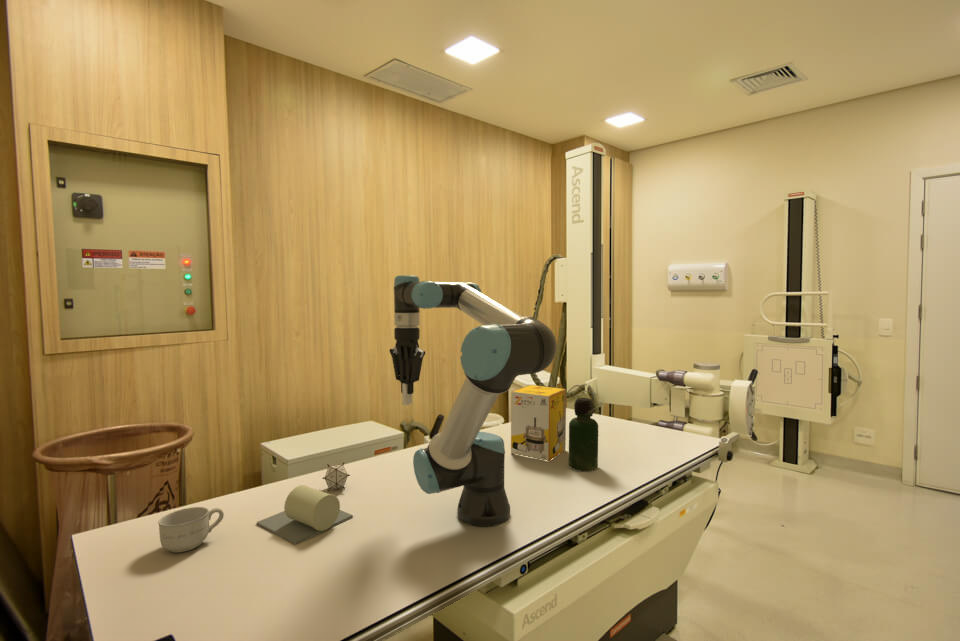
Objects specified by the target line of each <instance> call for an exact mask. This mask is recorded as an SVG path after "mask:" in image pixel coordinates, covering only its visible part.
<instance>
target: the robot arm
mask: <svg viewBox="0 0 960 641" xmlns="http://www.w3.org/2000/svg"><path fill="white" fill-rule="evenodd" d="M393 284H394V285H393V297H394V298H393V301H394V303H393V304H394V305H393V307H394V309H393V310H394V312H393V313H394V314H393V315H394V316H393V317H394V318H393V319H394V320H393V322H394V324H393V325H394V326H395V328H394V329H393V330H394V340H395V346H394V347H393V348H390V349H389V353H390V355H391V359H392V364H393V370H394V377H395V380H396V381H399V382H400V389H401V390H400V392H401V394H402V405H404V406H409V405H412V404H413V394H414V392H415V391H414V390H415V389H414V388H415V387H414V383H416V382H419V381H420V376H421V371H422V365H423V359H424V357H425V355H426V351H425V350H422V349H421V348H420V345H419V340H420V335H421V334H420V331H421V330H420V328H419V326H420V309H424V310H425V309H438V308H439V309H443V308H444V309H445V308H446V309H448V308H449V309H453V308H455V309H458V310H459V311H462V312H463V313H464V314H466V315H467V316H469V317H470V318H472V319H473V320H474V321H476V322H478V323H479V324H480V325H479V326H475V327H474V328H472V329H471V330H469V332H468V333H467V334H466V336H465V337H464V339H463V341H462V343H461V347H460V352H461V355H460V356H459V357H460V363H461V364H460V365H461V367H462V370H463V373H464V376H465V379H464V381H463V384H462V386H461V388H460V390H459V392H458V395H457V397H456V399H455V401H454V403H453V405H452V407H451V410H450V411H449V414H448V416H447V418H446V420H445V422H444V424H443V426H442V428H441V431H440V432H438V433H436V434H435V435H433V436H432V438H431V439H430V441H429V443H428V445H427V446H426V447H425V448H420V449H417V450H416V451H415V452H414V454H413V459H412V460H413V461H412V463H413V465H412V466H413V470H414V471H413V473H414V476H415V479H416V481H417V484H418V485H419V486H418V487H419V488H420V489H421V490H422V492H424V493H425V494H427V495H431V494H432V495H433V494H439V493H442V492H445V491H448V490H452V489H456V488H460V487H463V488H462V492H461V494H460V498H459V500H458V504H457V509H456V511H457V514H456V516H457V518H459V520H460V521H461V522H463V523H465V524H468V525H470V526H475V527H494V526H498V525H501V524H504V523H505V522H507V521H508V520H509V519H508V518H510V517H511V504H510V503H509V498H508V496H507V492H506V488H505V457H506V456H505V455H506V450H505V441H504V439H503V438H502V437H501V436H499V435H498V434H495V433H492V432H488V431H487V432H485V431H481V429H482V427H483V425H484V423H485V421H486V419H487V418H488V416H489V414H490V412H491V410H492V408H493V407H494V404H495V402H496V401H497V399H498V397H499V395H501V394H504V393H507V392H508V391H509V390H510V388H511V387H512V384H513V383H514V381H515V379H516V378H517V377H518V376H524V375H533V374H538V373H540V372H543V371H544V370H546V369H547V368H548V367H549V366H550V365H551V364H552V363H553V361H554V360H555V357H556V354H557V350H558V349H557V348H558V344H557V339H556V336H555V334H554V332H553V330H551V328H550V327H549V326H548V325H547V324H545V323H543V322H542V321H540V320H538V319H537V318H535V317H533V316H523V315H521V314H520V313H518V312H516V311H515V310H512V309H511V308H509V307H507V306H505V305H504V304H502V303H500V302H498V301H497V300H495V299H493V298H491V297H490V296H488V295H486V294H484V293H482V290H481V288H480V286H479V285H478V284H477V283H475V282H469V281H461V282H460V281H456V282H455V281H431V280H422V281H420V278H419V276H417V275H407V274H406V275H403V274H402V275H396V276H395V277H394V282H393ZM503 522H504V523H503Z"/></svg>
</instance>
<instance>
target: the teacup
mask: <svg viewBox="0 0 960 641" xmlns="http://www.w3.org/2000/svg"><path fill="white" fill-rule="evenodd" d="M215 513H218V514H219V516H218V518H217V519H216V520H215V521H214V522H213V523H211V524H210V521H211V517H212V515H214V514H215ZM224 516H225V515H224V511H223V510H222V509H221V508H219V507H214V508H212V509H210V510H209V508H207V507H203V506H193V507H188V508H187V507H186V508H182V509H179V510H175V511H172V512H170V513H168V514H165V515H164V516H162V517H161V518H160V519H159V520H158V522H157V523H158V529H159V539H160V540H159V542H160V544H161V546H162V548H163V549H165V550H167V551H169V552H172V553H183V552H184V553H185V552H187V551H190V550H193V549H196V548H197V547H199V546H200V545H202V543H203V542H204V541H205V539H206V538H207V537H208V535H209V534H210V533H212V531H213V529H215V527H217V526H219V524H220V523H221V522H222V520H223V519H224Z"/></svg>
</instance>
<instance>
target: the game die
mask: <svg viewBox="0 0 960 641" xmlns="http://www.w3.org/2000/svg"><path fill="white" fill-rule="evenodd" d="M350 476H351V474H349V473H348V472H347V470H346V469H345V462H343V463H342V464H334V465H330V464H328V463H327V469H326V472H325V475H324V477H322V478H321V479H323V480H325V482H326V486H327V488H328V489H327V492H329V491H330V490H334V489H341V488H342V489H343V490H346V487H345V486H346V485H345V484H346V481H347V478H348V477H350Z"/></svg>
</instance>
